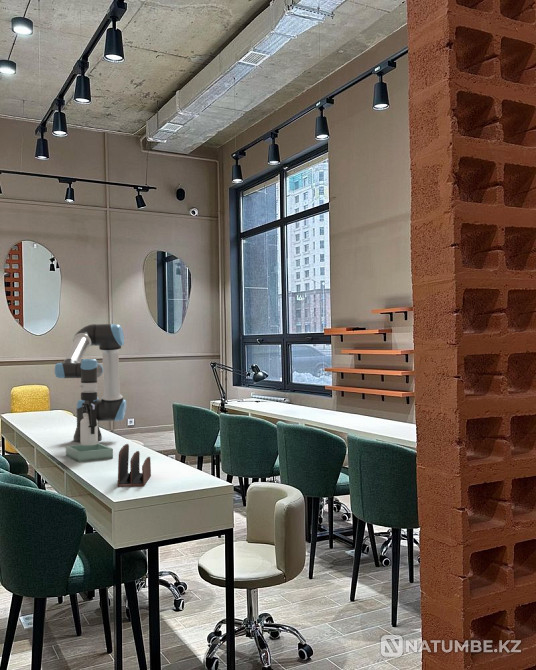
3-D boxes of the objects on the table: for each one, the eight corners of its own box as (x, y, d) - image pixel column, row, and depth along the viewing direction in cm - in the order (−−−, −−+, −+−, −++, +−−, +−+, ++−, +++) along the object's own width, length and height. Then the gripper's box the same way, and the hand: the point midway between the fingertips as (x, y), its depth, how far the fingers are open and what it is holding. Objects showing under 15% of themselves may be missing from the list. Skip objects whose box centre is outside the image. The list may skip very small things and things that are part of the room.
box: (66, 455, 311) (66, 446, 311) (98, 452, 320) (98, 443, 320) (78, 462, 294) (78, 452, 294) (112, 458, 303) (112, 448, 303)
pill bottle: (76, 445, 305) (76, 413, 306) (88, 442, 312) (88, 411, 313) (89, 446, 302) (89, 414, 302) (101, 444, 309) (101, 412, 309)
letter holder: (117, 487, 244) (117, 449, 244) (126, 476, 263) (126, 441, 264) (144, 487, 244) (144, 449, 244) (151, 476, 264) (151, 441, 264)
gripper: (74, 390, 314) (74, 437, 314) (88, 393, 297) (88, 443, 296) (89, 390, 318) (89, 436, 318) (104, 392, 301) (104, 441, 300)
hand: (89, 439), depth 307 cm, fingers closed on pill bottle, 8 cm apart
